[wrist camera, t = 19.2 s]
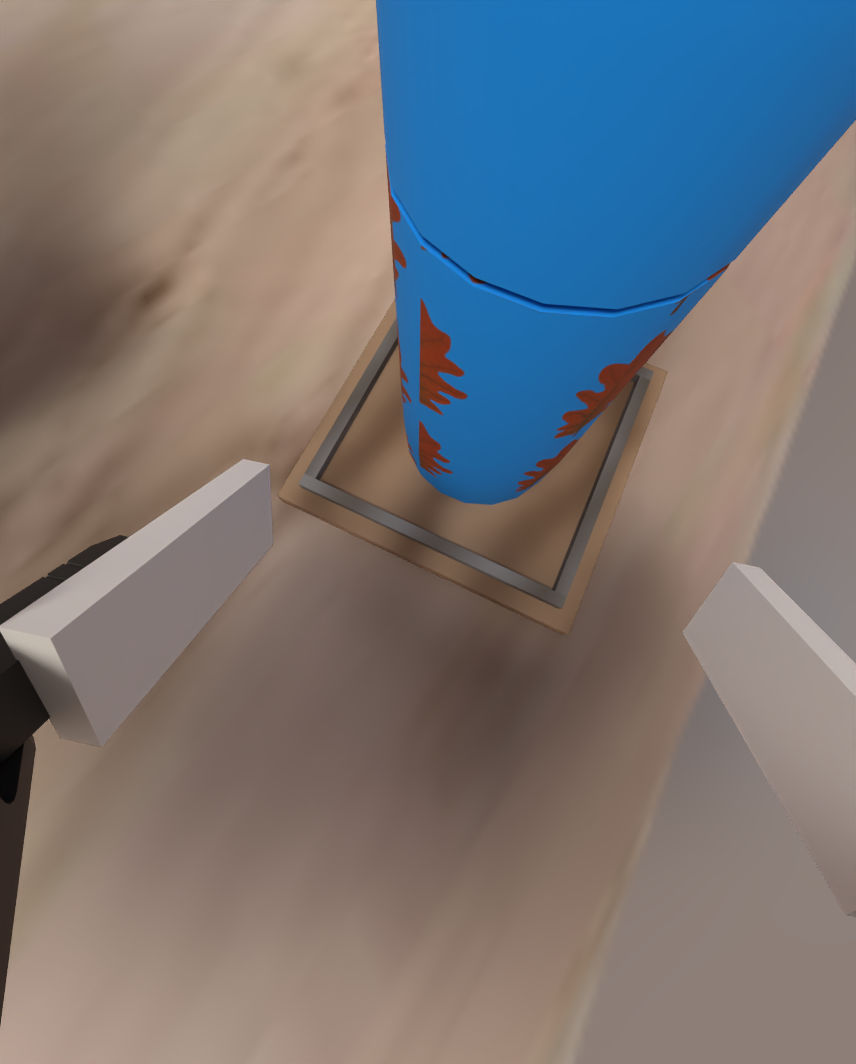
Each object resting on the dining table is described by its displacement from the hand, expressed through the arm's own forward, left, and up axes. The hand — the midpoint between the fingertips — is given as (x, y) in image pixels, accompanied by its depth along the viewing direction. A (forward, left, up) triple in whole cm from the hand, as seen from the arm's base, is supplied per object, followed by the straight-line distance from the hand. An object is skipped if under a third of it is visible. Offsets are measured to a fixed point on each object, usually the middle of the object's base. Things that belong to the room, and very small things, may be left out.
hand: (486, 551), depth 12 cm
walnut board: (-9, +8, -15) cm, 19 cm away
